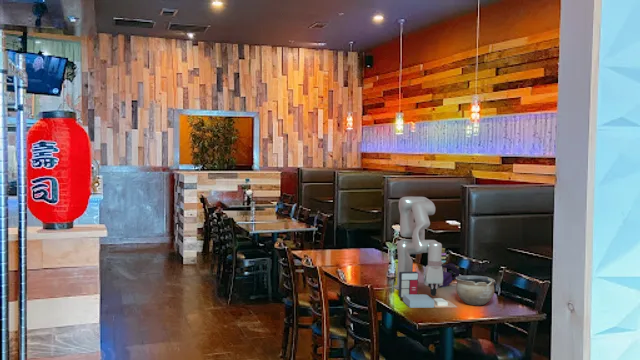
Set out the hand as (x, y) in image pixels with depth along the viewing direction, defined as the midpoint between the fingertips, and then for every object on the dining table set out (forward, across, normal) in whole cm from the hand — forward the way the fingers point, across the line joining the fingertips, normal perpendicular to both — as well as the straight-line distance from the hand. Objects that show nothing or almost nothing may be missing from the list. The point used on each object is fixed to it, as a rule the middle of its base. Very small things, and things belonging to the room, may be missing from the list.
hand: (433, 295), depth 321 cm
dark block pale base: (+5, +10, -17) cm, 20 cm away
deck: (+5, +9, 0) cm, 10 cm away
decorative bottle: (+5, -21, -46) cm, 51 cm away
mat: (+5, -5, 0) cm, 7 cm away
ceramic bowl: (+5, -25, -1) cm, 26 cm away
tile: (+3, -4, 0) cm, 5 cm away
